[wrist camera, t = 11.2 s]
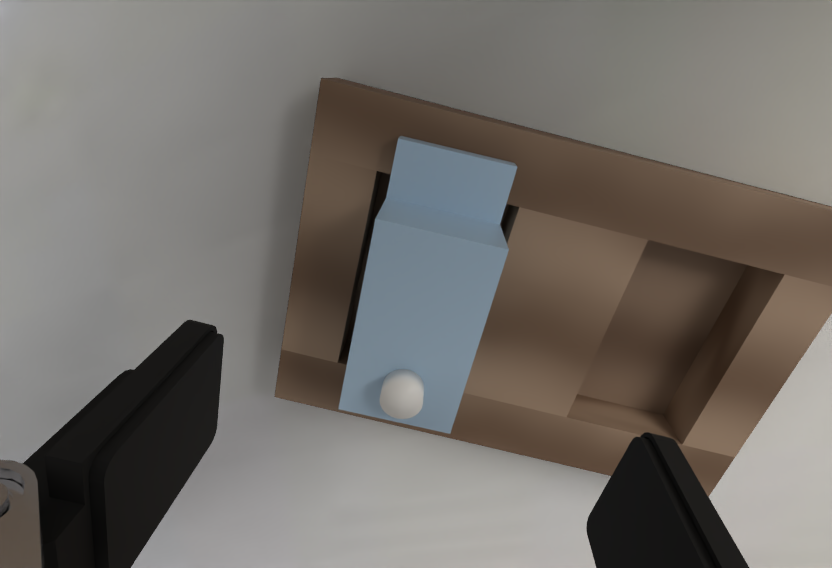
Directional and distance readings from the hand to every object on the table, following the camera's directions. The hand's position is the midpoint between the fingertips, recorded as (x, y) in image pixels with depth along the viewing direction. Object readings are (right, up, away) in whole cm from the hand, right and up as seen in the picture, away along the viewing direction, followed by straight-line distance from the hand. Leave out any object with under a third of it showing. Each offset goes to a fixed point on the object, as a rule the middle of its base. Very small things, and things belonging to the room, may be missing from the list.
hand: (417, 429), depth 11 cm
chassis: (+5, +3, +10) cm, 12 cm away
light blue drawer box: (0, +4, +10) cm, 10 cm away
